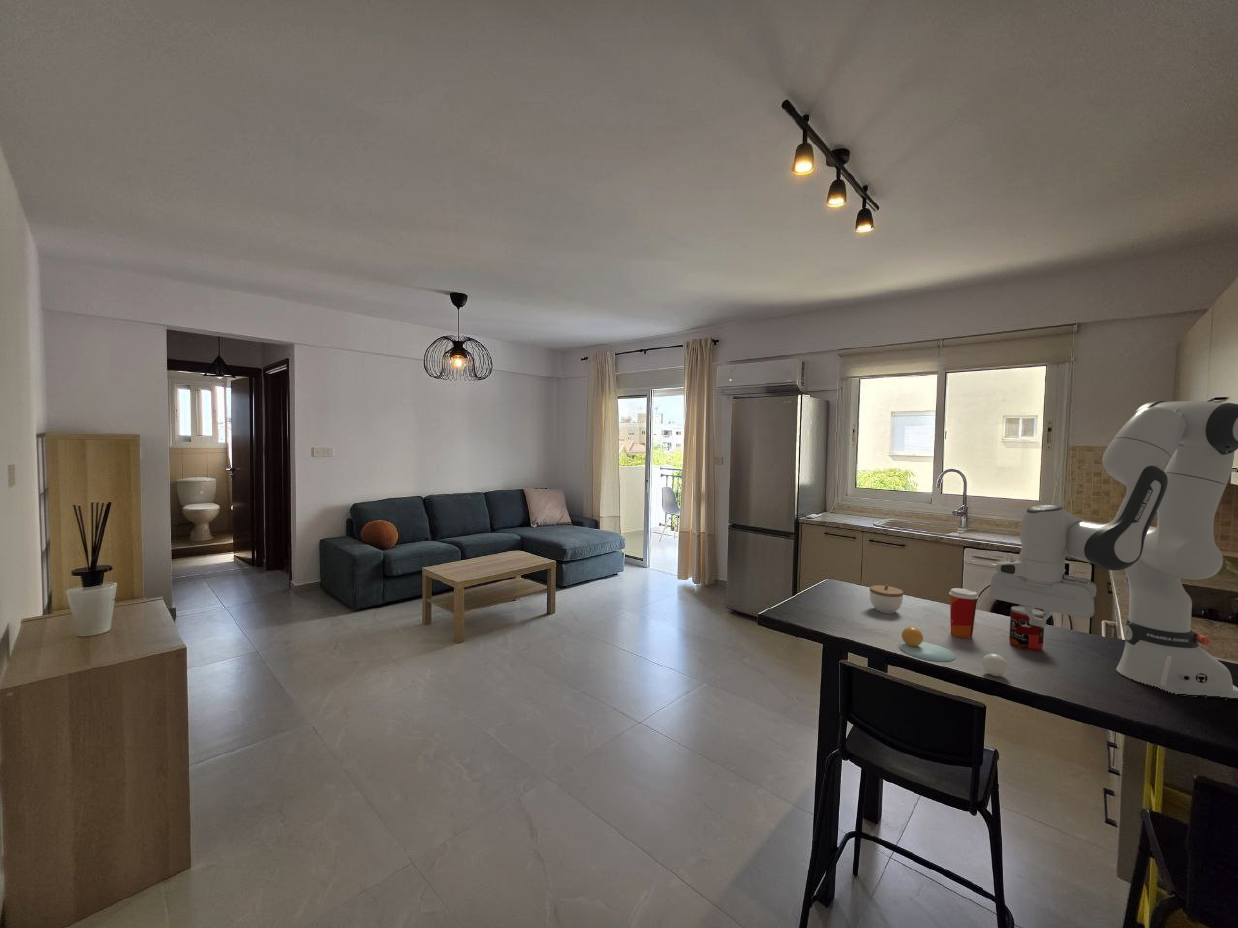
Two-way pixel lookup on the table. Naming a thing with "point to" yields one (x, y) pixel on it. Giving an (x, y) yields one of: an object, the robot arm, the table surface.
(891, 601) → the lidded jar
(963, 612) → the paper cup
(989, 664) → the cue ball
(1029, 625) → the canned food
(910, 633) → the object ball
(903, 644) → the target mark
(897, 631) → the table surface
